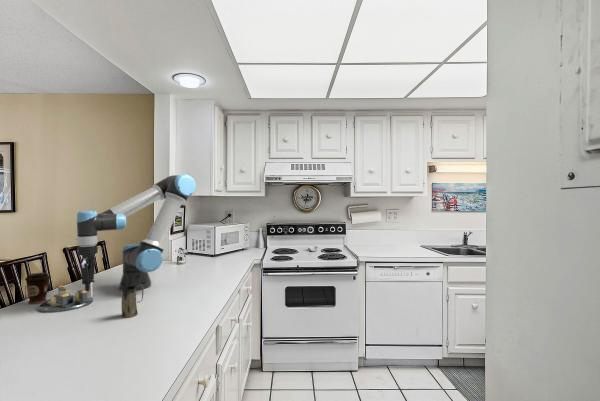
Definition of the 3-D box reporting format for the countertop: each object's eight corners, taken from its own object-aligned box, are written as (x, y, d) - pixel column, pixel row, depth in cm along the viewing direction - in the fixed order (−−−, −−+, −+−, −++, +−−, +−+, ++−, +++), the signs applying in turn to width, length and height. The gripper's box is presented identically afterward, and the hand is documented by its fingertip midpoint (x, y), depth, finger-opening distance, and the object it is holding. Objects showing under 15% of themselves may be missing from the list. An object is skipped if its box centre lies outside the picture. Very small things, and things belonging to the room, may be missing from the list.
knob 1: (69, 299, 149) (69, 287, 149) (60, 301, 146) (59, 289, 146) (65, 295, 155) (65, 284, 154) (56, 297, 152) (55, 286, 152)
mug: (119, 318, 128) (119, 288, 128) (124, 313, 133) (123, 284, 133) (141, 316, 130) (141, 286, 129) (145, 311, 135) (144, 283, 135)
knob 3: (73, 300, 146) (73, 289, 146) (82, 298, 149) (82, 287, 149) (80, 304, 141) (79, 292, 141) (89, 302, 144) (89, 290, 144)
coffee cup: (35, 305, 144) (34, 276, 144) (20, 304, 146) (19, 275, 146) (53, 299, 153) (53, 272, 153) (39, 298, 154) (39, 271, 154)
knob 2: (48, 306, 140) (48, 294, 139) (58, 303, 143) (57, 291, 143) (60, 308, 136) (60, 296, 136) (69, 306, 139) (69, 293, 139)
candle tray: (98, 296, 158) (98, 285, 158) (84, 309, 139) (84, 297, 139) (50, 300, 152) (50, 289, 152) (28, 314, 133) (28, 302, 133)
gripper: (83, 243, 151) (84, 293, 151) (72, 248, 138) (73, 302, 139) (101, 242, 153) (102, 292, 153) (92, 247, 141) (93, 301, 141)
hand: (88, 297), depth 146 cm, fingers closed
